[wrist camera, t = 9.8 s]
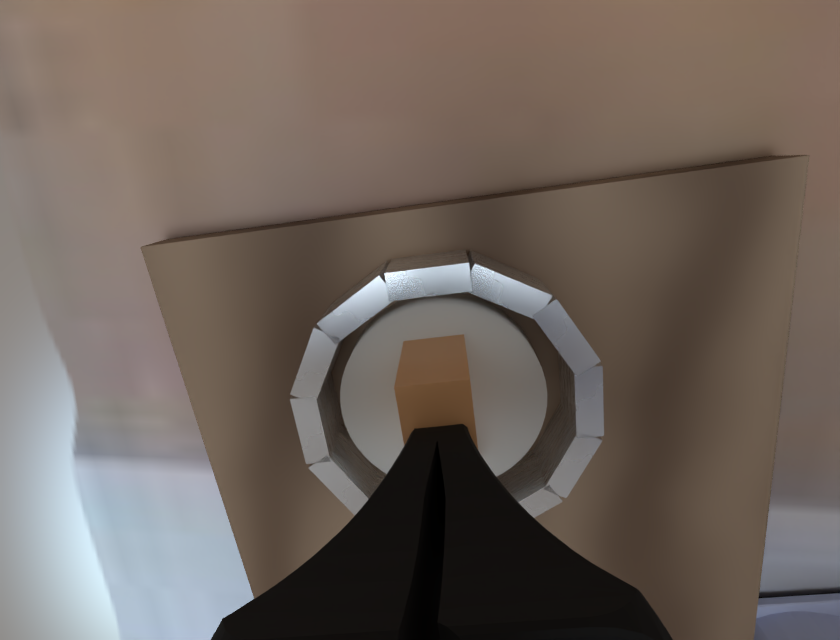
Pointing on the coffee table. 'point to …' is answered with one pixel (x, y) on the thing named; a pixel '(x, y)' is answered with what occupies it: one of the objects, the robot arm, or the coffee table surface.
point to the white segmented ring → (439, 275)
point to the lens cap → (444, 379)
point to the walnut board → (596, 320)
